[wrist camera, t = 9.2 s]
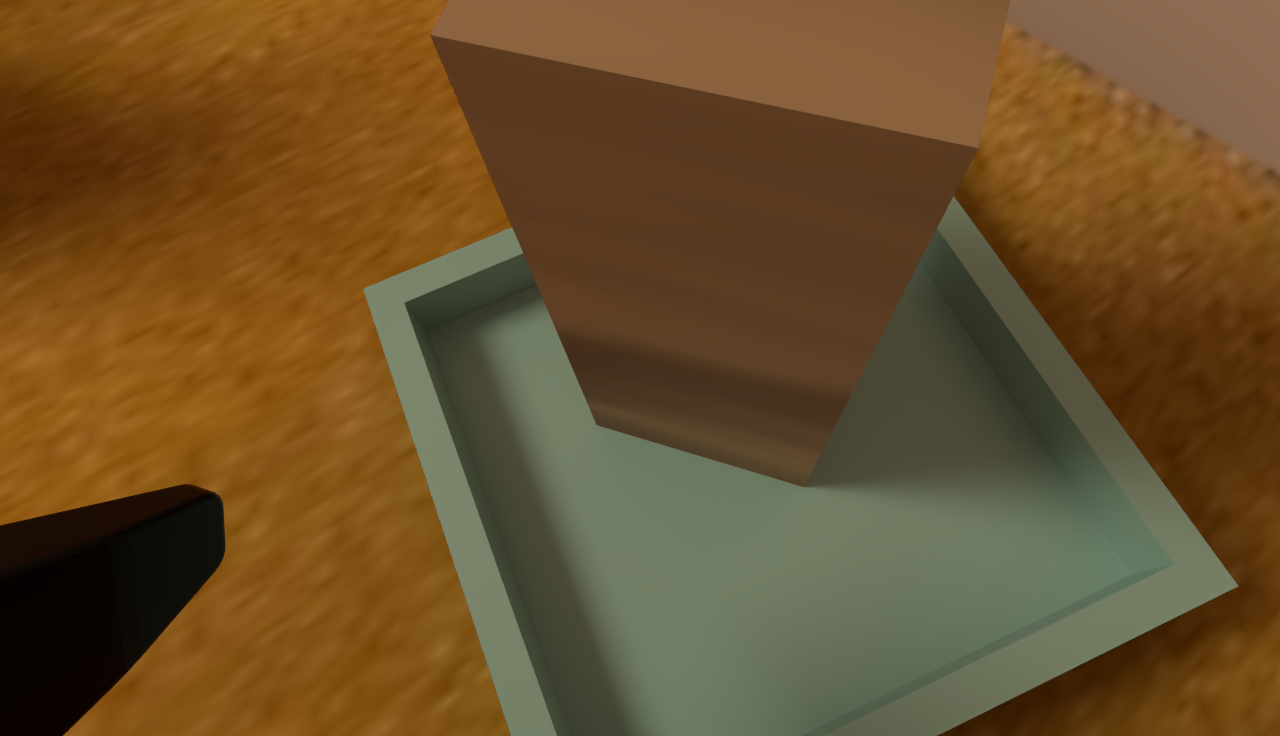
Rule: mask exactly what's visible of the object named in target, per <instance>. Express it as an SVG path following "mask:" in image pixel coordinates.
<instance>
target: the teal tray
mask: <svg viewBox="0 0 1280 736" xmlns="http://www.w3.org/2000/svg"><path fill="white" fill-rule="evenodd" d="M363 290H364V293H365V296H366V299H367V302H368V305H369V308H370V311H371V314H372V317H373V320H374V323H375V326H376V329H377V332H378V335H379V338H380V341H381V344H382V347H383V350H384V353H385V356H386V359H387V362H388V365H389V368H390V371H391V374H392V377H393V380H394V383H395V386H396V389H397V392H398V395H399V398H400V401H401V404H402V407H403V410H404V413H405V417H406V420H407V423H408V426H409V429H410V432H411V435H412V438H413V441H414V444H415V447H416V450H417V453H418V456H419V459H420V462H421V465H422V468H423V471H424V474H425V477H426V480H427V483H428V486H429V489H430V492H431V495H432V498H433V501H434V504H435V507H436V510H437V513H438V516H439V519H440V522H441V525H442V528H443V531H444V534H445V537H446V540H447V543H448V547H449V550H450V553H451V556H452V559H453V562H454V565H455V568H456V571H457V574H458V577H459V580H460V583H461V586H462V589H463V592H464V595H465V598H466V601H467V604H468V607H469V610H470V613H471V616H472V619H473V622H474V625H475V628H476V631H477V634H478V637H479V640H480V643H481V646H482V649H483V652H484V655H485V658H486V661H487V664H488V667H489V670H490V674H491V677H492V680H493V683H494V686H495V689H496V692H497V695H498V698H499V701H500V704H501V707H502V710H503V713H504V716H505V719H506V722H507V725H508V728H509V731H510V734H511V736H938V735H940V734H942V733H944V732H946V731H948V730H950V729H952V728H954V727H956V726H958V725H960V724H962V723H964V722H966V721H968V720H970V719H972V718H974V717H976V716H978V715H980V714H982V713H984V712H986V711H988V710H990V709H992V708H994V707H996V706H998V705H1000V704H1002V703H1004V702H1006V701H1008V700H1010V699H1012V698H1014V697H1016V696H1018V695H1020V694H1022V693H1024V692H1026V691H1028V690H1030V689H1032V688H1034V687H1036V686H1038V685H1040V684H1042V683H1044V682H1046V681H1048V680H1050V679H1052V678H1054V677H1056V676H1059V675H1061V674H1063V673H1065V672H1067V671H1069V670H1071V669H1073V668H1075V667H1077V666H1079V665H1081V664H1083V663H1085V662H1087V661H1089V660H1091V659H1093V658H1095V657H1097V656H1099V655H1101V654H1103V653H1105V652H1107V651H1109V650H1111V649H1113V648H1115V647H1117V646H1119V645H1121V644H1123V643H1125V642H1127V641H1129V640H1131V639H1133V638H1135V637H1137V636H1139V635H1141V634H1143V633H1145V632H1147V631H1149V630H1151V629H1153V628H1155V627H1157V626H1159V625H1161V624H1163V623H1165V622H1167V621H1169V620H1171V619H1173V618H1175V617H1177V616H1179V615H1181V614H1183V613H1185V612H1187V611H1189V610H1191V609H1193V608H1195V607H1197V606H1199V605H1202V604H1204V603H1206V602H1208V601H1210V600H1212V599H1214V598H1216V597H1218V596H1220V595H1222V594H1224V593H1226V592H1228V591H1230V590H1232V589H1234V588H1236V587H1238V585H1237V583H1236V582H1235V581H1234V579H1233V578H1232V577H1231V575H1230V574H1229V572H1228V571H1227V570H1226V568H1225V567H1224V566H1223V564H1222V563H1221V561H1220V560H1219V559H1218V557H1217V556H1216V555H1215V553H1214V552H1213V550H1212V549H1211V548H1210V546H1209V545H1208V544H1207V542H1206V541H1205V540H1204V538H1203V537H1202V535H1201V534H1200V533H1199V531H1198V530H1197V529H1196V527H1195V526H1194V524H1193V523H1192V522H1191V520H1190V519H1189V518H1188V516H1187V515H1186V513H1185V512H1184V511H1183V509H1182V508H1181V507H1180V505H1179V504H1178V503H1177V501H1176V500H1175V498H1174V497H1173V496H1172V494H1171V493H1170V492H1169V490H1168V489H1167V487H1166V486H1165V485H1164V483H1163V482H1162V481H1161V479H1160V478H1159V477H1158V475H1157V474H1156V472H1155V471H1154V470H1153V468H1152V467H1151V466H1150V464H1149V463H1148V461H1147V460H1146V459H1145V457H1144V456H1143V455H1142V453H1141V452H1140V450H1139V449H1138V448H1137V446H1136V445H1135V444H1134V442H1133V441H1132V440H1131V438H1130V437H1129V435H1128V434H1127V433H1126V431H1125V430H1124V429H1123V427H1122V426H1121V424H1120V423H1119V422H1118V420H1117V419H1116V418H1115V416H1114V415H1113V414H1112V412H1111V411H1110V409H1109V408H1108V407H1107V405H1106V404H1105V403H1104V401H1103V400H1102V398H1101V397H1100V396H1099V394H1098V393H1097V392H1096V390H1095V389H1094V387H1093V386H1092V385H1091V383H1090V382H1089V381H1088V379H1087V378H1086V377H1085V375H1084V374H1083V372H1082V371H1081V370H1080V368H1079V367H1078V366H1077V364H1076V363H1075V361H1074V360H1073V359H1072V357H1071V356H1070V355H1069V353H1068V352H1067V350H1066V349H1065V348H1064V346H1063V345H1062V344H1061V342H1060V341H1059V340H1058V338H1057V337H1056V335H1055V334H1054V333H1053V331H1052V330H1051V329H1050V327H1049V326H1048V324H1047V323H1046V322H1045V320H1044V319H1043V318H1042V316H1041V315H1040V314H1039V312H1038V311H1037V309H1036V308H1035V307H1034V305H1033V304H1032V303H1031V301H1030V300H1029V298H1028V297H1027V296H1026V294H1025V293H1024V292H1023V290H1022V289H1021V287H1020V286H1019V285H1018V283H1017V282H1016V281H1015V279H1014V278H1013V277H1012V275H1011V274H1010V272H1009V271H1008V270H1007V268H1006V267H1005V266H1004V264H1003V263H1002V261H1001V260H1000V259H999V257H998V256H997V255H996V253H995V252H994V251H993V249H992V248H991V246H990V245H989V244H988V242H987V241H986V240H985V238H984V237H983V235H982V234H981V233H980V231H979V230H978V229H977V227H976V226H975V224H974V223H973V222H972V220H971V219H970V218H969V216H968V215H967V214H966V212H965V211H964V209H963V208H962V207H961V205H960V204H959V203H958V201H957V200H956V198H955V197H954V196H953V198H952V200H951V202H950V204H949V206H948V208H947V210H946V212H945V214H944V216H943V218H942V219H941V221H940V223H939V225H938V227H937V229H936V231H935V233H934V235H933V237H932V239H931V241H930V243H929V245H928V247H927V249H926V251H925V252H924V254H923V256H922V258H921V260H920V262H919V264H918V266H917V268H916V270H915V272H914V274H913V276H912V278H911V280H910V282H909V284H908V285H907V287H906V289H905V291H904V293H903V295H902V297H901V299H900V301H899V303H898V305H897V307H896V309H895V311H894V313H893V315H892V317H891V318H890V320H889V322H888V324H887V326H886V328H885V330H884V332H883V334H882V336H881V338H880V340H879V342H878V344H877V346H876V348H875V349H874V351H873V353H872V355H871V357H870V359H869V361H868V363H867V365H866V367H865V369H864V371H863V373H862V375H861V377H860V379H859V381H858V382H857V384H856V386H855V388H854V390H853V392H852V394H851V396H850V398H849V400H848V402H847V404H846V406H845V408H844V410H843V412H842V414H841V415H840V417H839V419H838V421H837V423H836V425H835V427H834V429H833V431H832V433H831V435H830V437H829V439H828V441H827V443H826V445H825V447H824V448H823V450H822V452H821V454H820V456H819V458H818V460H817V462H816V464H815V466H814V468H813V470H812V472H811V474H810V476H809V478H808V480H807V481H806V483H805V485H804V487H801V486H798V485H795V484H791V483H788V482H785V481H781V480H778V479H775V478H771V477H768V476H765V475H761V474H758V473H755V472H751V471H748V470H745V469H741V468H738V467H735V466H731V465H728V464H725V463H721V462H718V461H715V460H711V459H708V458H704V457H701V456H698V455H694V454H691V453H688V452H684V451H681V450H678V449H674V448H671V447H668V446H664V445H661V444H658V443H654V442H651V441H648V440H644V439H641V438H638V437H634V436H631V435H628V434H624V433H621V432H618V431H614V430H611V429H608V428H604V427H601V426H598V425H596V423H595V420H594V418H593V416H592V413H591V411H590V408H589V406H588V404H587V401H586V399H585V397H584V394H583V392H582V390H581V387H580V385H579V383H578V380H577V378H576V376H575V373H574V371H573V369H572V366H571V364H570V362H569V359H568V357H567V355H566V352H565V350H564V348H563V345H562V343H561V340H560V338H559V336H558V333H557V331H556V329H555V326H554V324H553V322H552V319H551V317H550V315H549V312H548V310H547V308H546V305H545V303H544V301H543V298H542V296H541V294H540V291H539V289H538V287H537V284H536V282H535V279H534V277H533V275H532V272H531V270H530V268H529V265H528V263H527V261H526V258H525V256H524V254H523V251H522V249H521V247H520V244H519V242H518V240H517V237H516V235H515V233H514V230H513V228H509V229H507V230H504V231H502V232H500V233H497V234H495V235H492V236H490V237H487V238H485V239H483V240H480V241H478V242H475V243H473V244H470V245H468V246H466V247H463V248H461V249H458V250H456V251H453V252H451V253H449V254H446V255H444V256H441V257H439V258H436V259H434V260H432V261H429V262H427V263H424V264H422V265H419V266H417V267H415V268H412V269H410V270H407V271H405V272H402V273H400V274H398V275H395V276H393V277H390V278H388V279H385V280H383V281H381V282H378V283H376V284H373V285H371V286H369V287H366V288H364V289H363Z"/></svg>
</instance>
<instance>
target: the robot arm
mask: <svg viewBox="0 0 1280 736" xmlns="http://www.w3.org/2000/svg"><path fill="white" fill-rule="evenodd" d="M224 553H225V529H224V510H223V502H222V500H221V498H220V496H219V495H217V494H216V493H215V492H212V491H209V490H206V489H203V488H201V487H198V486H195V485H190V484H183V485H178V486H174V487H169V488H165V489H160V490H156V491H151V492H147V493H143V494H138V495H134V496H129V497H125V498H120V499H116V500H111V501H107V502H103V503H98V504H94V505H89V506H85V507H80V508H76V509H72V510H67V511H63V512H58V513H54V514H49V515H45V516H41V517H36V518H32V519H27V520H23V521H18V522H14V523H9V524H5V525H1V526H0V736H63V735H64V734H65V733H66V732H67V731H68V730H69V729H70V728H71V727H72V726H73V725H74V724H75V723H76V722H78V721H79V720H80V719H81V718H82V717H83V716H84V715H85V714H86V713H87V712H88V711H89V710H90V709H91V708H92V707H93V706H94V705H95V704H96V703H97V702H98V701H99V700H100V699H101V698H102V697H103V696H104V695H105V694H106V693H107V692H108V691H109V690H110V689H111V688H112V687H113V686H114V685H115V684H116V683H117V682H118V681H119V680H120V679H121V678H122V677H123V676H124V675H125V674H126V673H127V672H128V671H129V670H130V669H131V668H132V666H133V665H134V664H135V663H136V662H137V661H138V660H139V659H140V658H141V657H142V655H143V654H144V653H145V652H146V651H147V650H148V649H149V647H150V646H151V645H152V644H153V643H154V642H155V640H156V639H157V638H158V637H159V636H160V635H161V633H162V632H163V631H164V630H165V629H166V628H167V626H168V625H169V624H170V623H171V622H172V621H173V620H174V618H175V617H176V616H177V615H178V614H179V613H180V611H181V610H182V609H183V608H184V607H185V606H186V604H187V603H188V602H189V601H190V600H191V599H192V598H193V596H194V595H195V594H196V593H197V592H198V591H199V589H200V588H201V587H202V586H203V585H204V584H205V582H206V581H207V580H208V579H209V578H210V577H211V576H212V574H213V573H214V572H215V571H216V570H217V568H218V567H219V565H220V563H221V562H222V559H223V557H224Z"/></svg>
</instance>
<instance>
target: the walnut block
mask: <svg viewBox="0 0 1280 736" xmlns="http://www.w3.org/2000/svg"><path fill="white" fill-rule="evenodd" d="M1009 2H1010V0H449V1H448V3H447V5H446V7H445V9H444V11H443V12H442V14H441V16H440V18H439V20H438V22H437V23H436V25H435V27H434V29H433V31H432V33H431V34H430V36H431V38H432V40H433V43H434V45H435V47H436V50H437V52H438V54H439V57H440V59H441V61H442V64H443V66H444V68H445V71H446V73H447V75H448V78H449V80H450V83H451V85H452V87H453V90H454V92H455V94H456V97H457V99H458V101H459V104H460V106H461V108H462V111H463V113H464V115H465V118H466V120H467V122H468V125H469V127H470V129H471V132H472V134H473V136H474V139H475V141H476V143H477V146H478V148H479V151H480V153H481V155H482V158H483V160H484V162H485V165H486V167H487V169H488V172H489V174H490V176H491V179H492V181H493V183H494V186H495V188H496V190H497V193H498V195H499V197H500V200H501V202H502V204H503V207H504V209H505V211H506V214H507V216H508V219H509V221H510V223H511V226H512V228H513V230H514V233H515V235H516V237H517V240H518V242H519V244H520V247H521V249H522V251H523V254H524V256H525V258H526V261H527V263H528V265H529V268H530V270H531V272H532V275H533V277H534V279H535V282H536V284H537V287H538V289H539V291H540V294H541V296H542V298H543V301H544V303H545V305H546V308H547V310H548V312H549V315H550V317H551V319H552V322H553V324H554V326H555V329H556V331H557V333H558V336H559V338H560V340H561V343H562V345H563V348H564V350H565V352H566V355H567V357H568V359H569V362H570V364H571V366H572V369H573V371H574V373H575V376H576V378H577V380H578V383H579V385H580V387H581V390H582V392H583V394H584V397H585V399H586V401H587V404H588V406H589V408H590V411H591V413H592V416H593V418H594V420H595V423H596V425H598V426H601V427H604V428H608V429H611V430H614V431H618V432H621V433H624V434H628V435H631V436H634V437H638V438H641V439H644V440H648V441H651V442H654V443H658V444H661V445H664V446H668V447H671V448H674V449H678V450H681V451H684V452H688V453H691V454H694V455H698V456H701V457H704V458H708V459H711V460H715V461H718V462H721V463H725V464H728V465H731V466H735V467H738V468H741V469H745V470H748V471H751V472H755V473H758V474H761V475H765V476H768V477H771V478H775V479H778V480H781V481H785V482H788V483H791V484H795V485H798V486H801V487H804V485H805V483H806V481H807V480H808V478H809V476H810V474H811V472H812V470H813V468H814V466H815V464H816V462H817V460H818V458H819V456H820V454H821V452H822V450H823V448H824V447H825V445H826V443H827V441H828V439H829V437H830V435H831V433H832V431H833V429H834V427H835V425H836V423H837V421H838V419H839V417H840V415H841V414H842V412H843V410H844V408H845V406H846V404H847V402H848V400H849V398H850V396H851V394H852V392H853V390H854V388H855V386H856V384H857V382H858V381H859V379H860V377H861V375H862V373H863V371H864V369H865V367H866V365H867V363H868V361H869V359H870V357H871V355H872V353H873V351H874V349H875V348H876V346H877V344H878V342H879V340H880V338H881V336H882V334H883V332H884V330H885V328H886V326H887V324H888V322H889V320H890V318H891V317H892V315H893V313H894V311H895V309H896V307H897V305H898V303H899V301H900V299H901V297H902V295H903V293H904V291H905V289H906V287H907V285H908V284H909V282H910V280H911V278H912V276H913V274H914V272H915V270H916V268H917V266H918V264H919V262H920V260H921V258H922V256H923V254H924V252H925V251H926V249H927V247H928V245H929V243H930V241H931V239H932V237H933V235H934V233H935V231H936V229H937V227H938V225H939V223H940V221H941V219H942V218H943V216H944V214H945V212H946V210H947V208H948V206H949V204H950V202H951V200H952V198H953V196H954V194H955V192H956V190H957V188H958V186H959V185H960V183H961V181H962V179H963V177H964V175H965V173H966V171H967V169H968V167H969V165H970V163H971V161H972V159H973V157H974V155H975V153H976V152H977V150H978V147H979V142H980V138H981V133H982V128H983V124H984V119H985V114H986V110H987V105H988V100H989V95H990V91H991V86H992V81H993V77H994V72H995V67H996V63H997V58H998V53H999V49H1000V44H1001V39H1002V34H1003V30H1004V25H1005V20H1006V15H1007V11H1008V6H1009Z"/></svg>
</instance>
